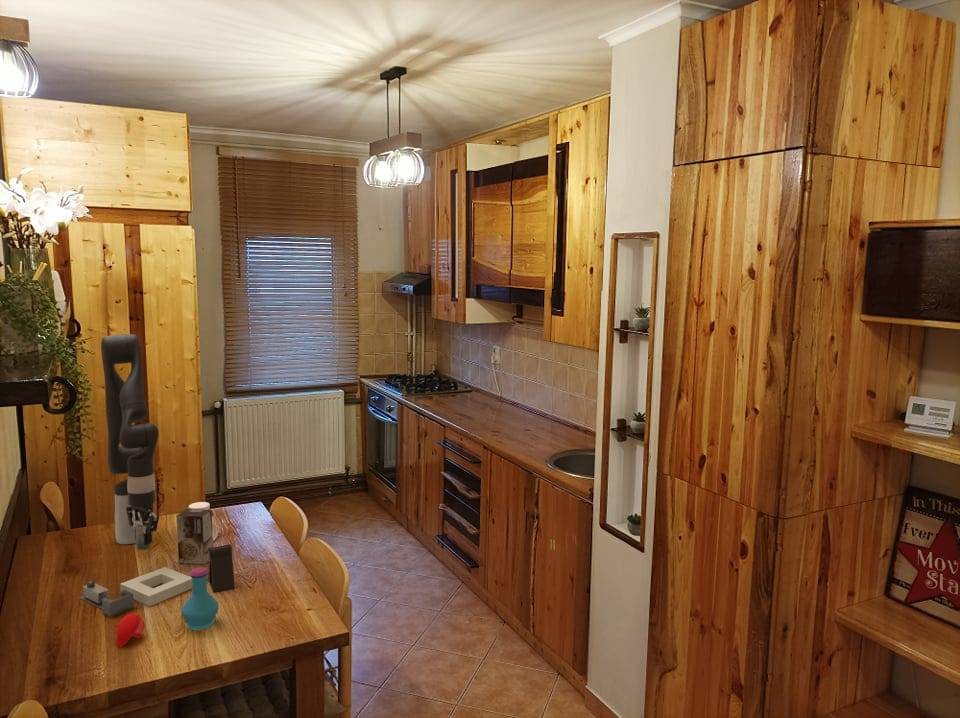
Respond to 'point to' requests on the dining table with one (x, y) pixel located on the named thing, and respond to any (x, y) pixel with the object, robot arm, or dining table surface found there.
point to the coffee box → (194, 535)
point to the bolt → (95, 592)
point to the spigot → (140, 536)
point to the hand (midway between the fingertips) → (143, 541)
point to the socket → (150, 596)
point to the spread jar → (206, 507)
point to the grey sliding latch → (114, 604)
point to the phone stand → (221, 568)
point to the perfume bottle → (199, 603)
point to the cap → (129, 629)
